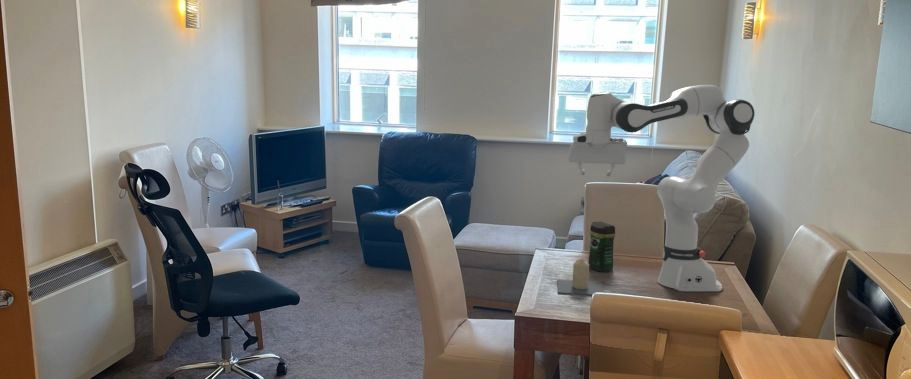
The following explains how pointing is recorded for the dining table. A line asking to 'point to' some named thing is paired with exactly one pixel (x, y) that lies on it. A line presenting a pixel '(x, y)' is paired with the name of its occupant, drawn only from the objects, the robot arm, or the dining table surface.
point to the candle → (580, 274)
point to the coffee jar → (601, 246)
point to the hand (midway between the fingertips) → (595, 175)
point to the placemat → (567, 288)
